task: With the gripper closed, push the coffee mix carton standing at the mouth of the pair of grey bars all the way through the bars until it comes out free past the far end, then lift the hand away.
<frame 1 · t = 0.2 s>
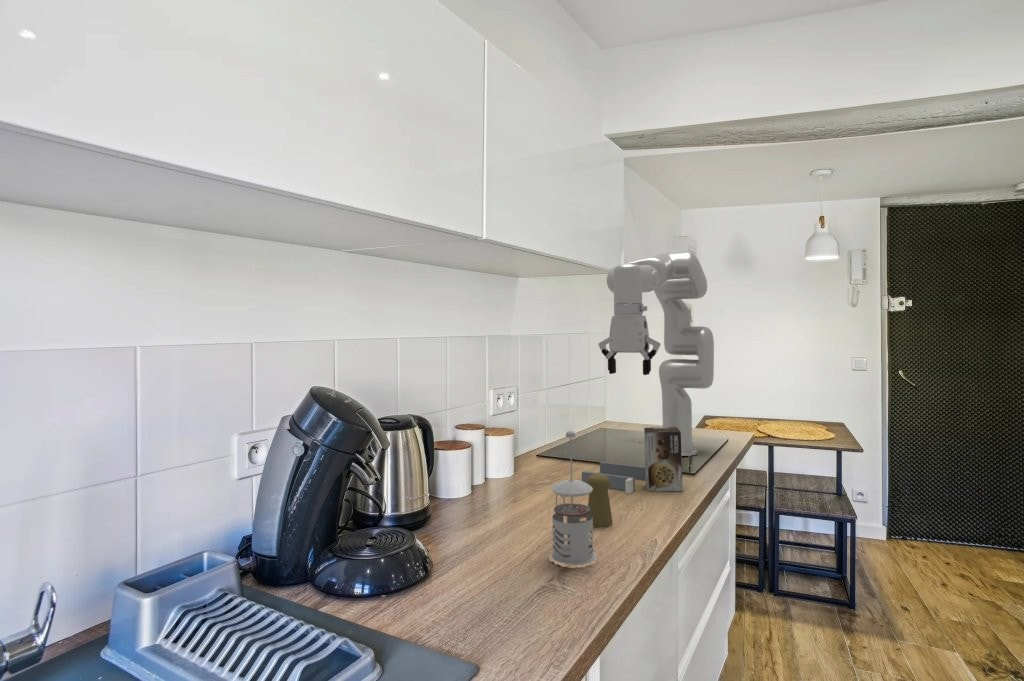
hand: (629, 374, 163), 31 cm above the worktop, tool pointing down, fingers open, 9 cm apart
coffee box: (663, 489, 163), on the worktop
french press: (571, 557, 118), on the worktop
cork: (599, 523, 137), on the worktop
pair of grey bars: (616, 482, 170), on the worktop
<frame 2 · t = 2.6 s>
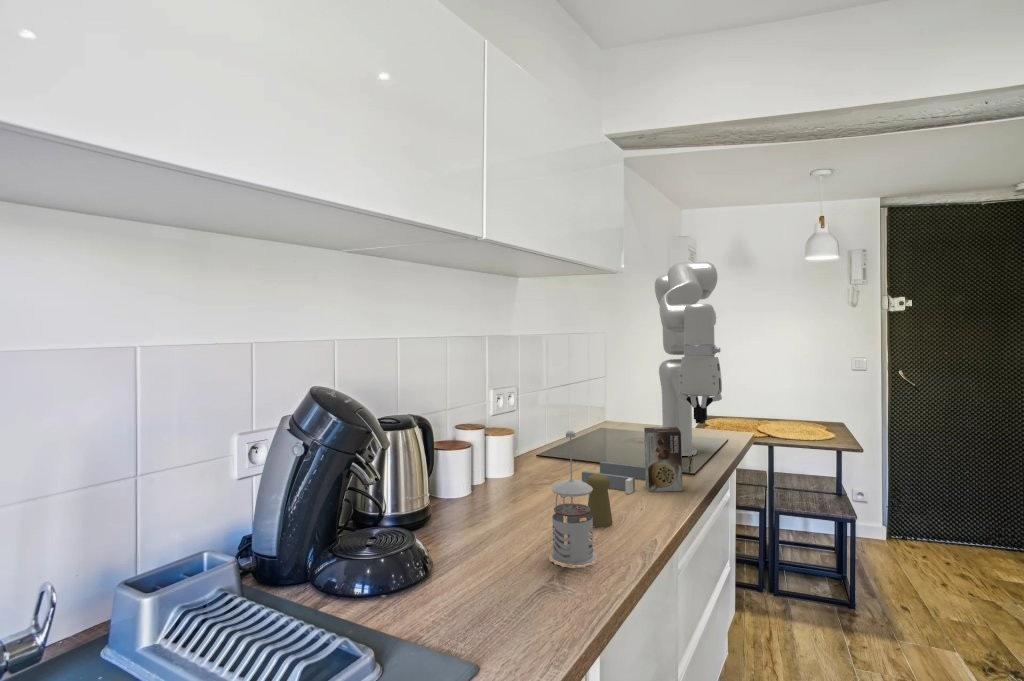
hand: (700, 422, 156), 19 cm above the worktop, tool pointing down, fingers closed
nothing on the worktop moved.
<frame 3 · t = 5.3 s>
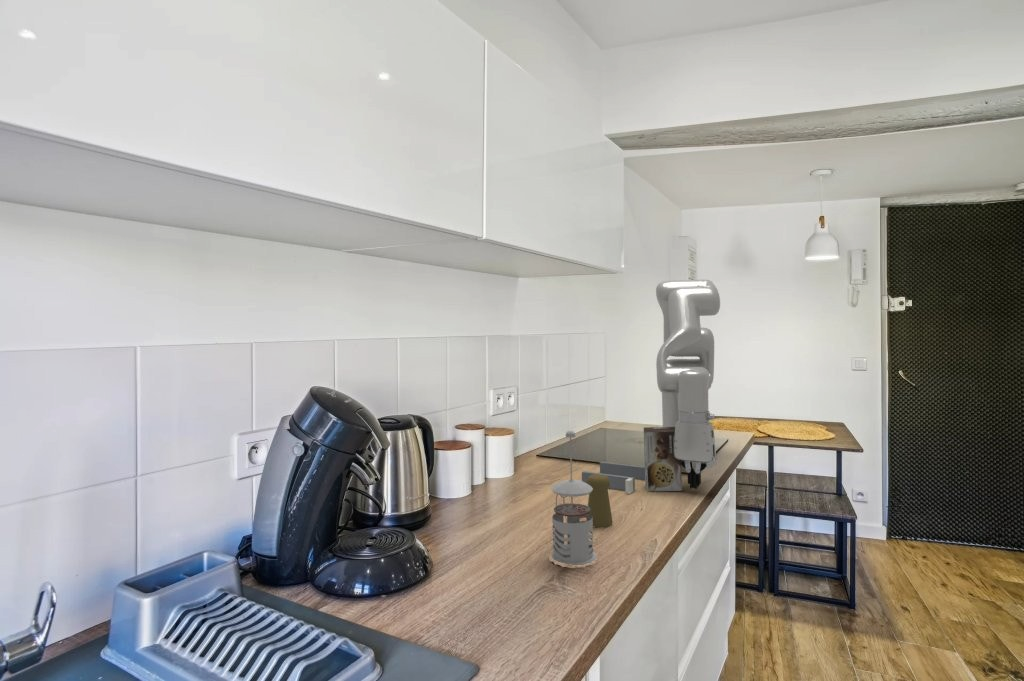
hand: (694, 486, 158), 1 cm above the worktop, tool pointing down, fingers closed
coffee box: (663, 488, 163), on the worktop, touching gripper
everything else where it was.
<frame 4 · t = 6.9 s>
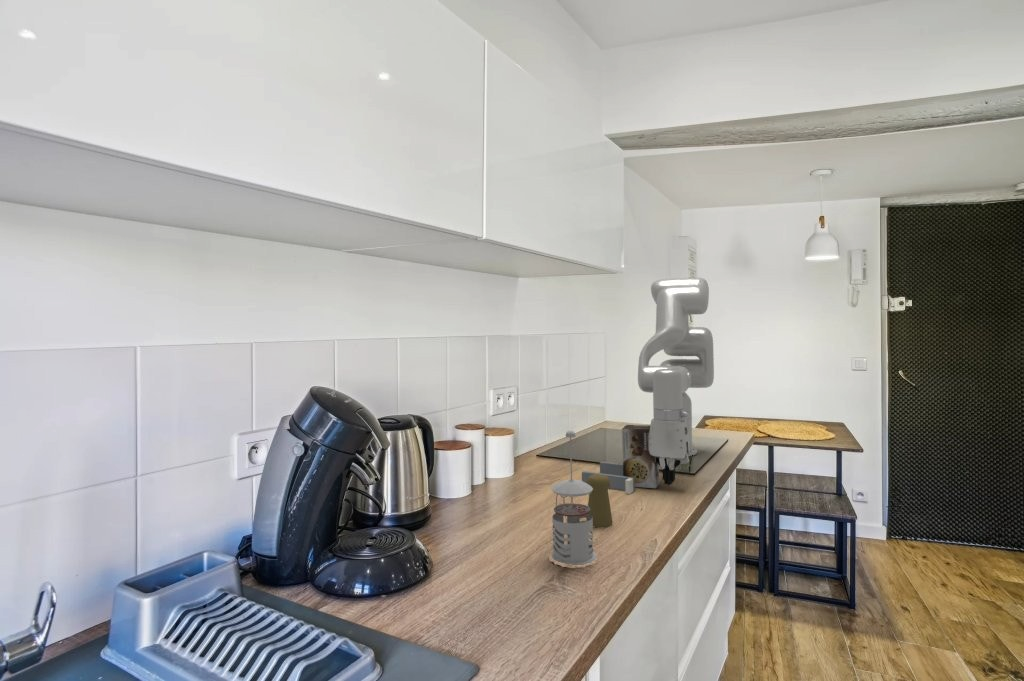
hand: (668, 483, 161), 2 cm above the worktop, tool pointing down, fingers closed
coffee box: (641, 485, 166), on the worktop, touching gripper
everything else where it was.
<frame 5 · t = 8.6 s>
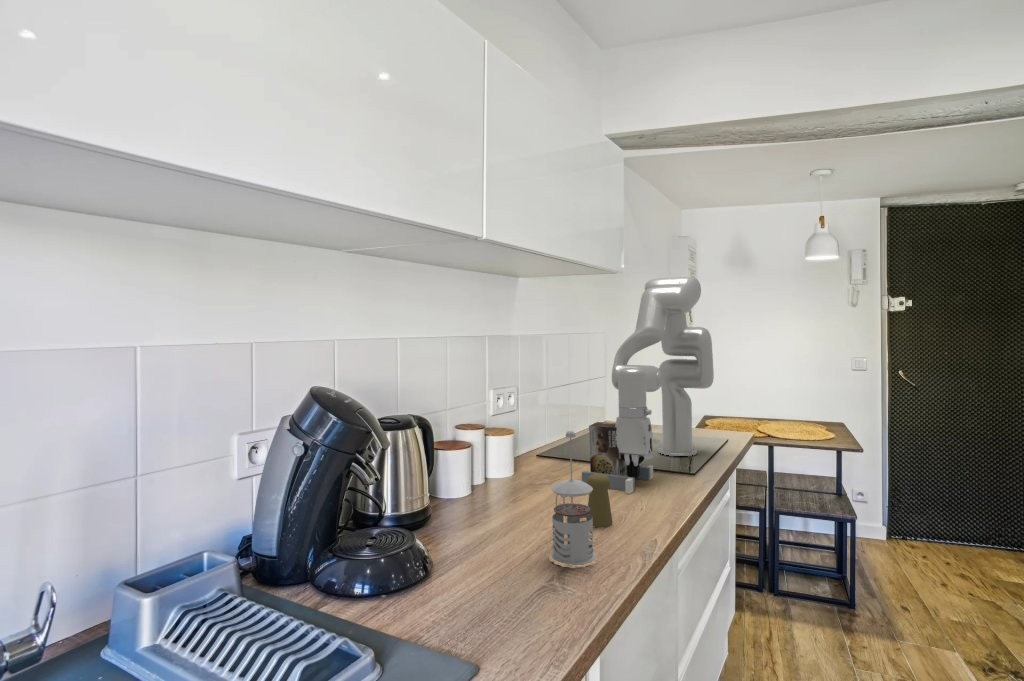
hand: (633, 478, 167), 2 cm above the worktop, tool pointing down, fingers closed
coffee box: (608, 481, 172), on the worktop, touching gripper
everything else where it was.
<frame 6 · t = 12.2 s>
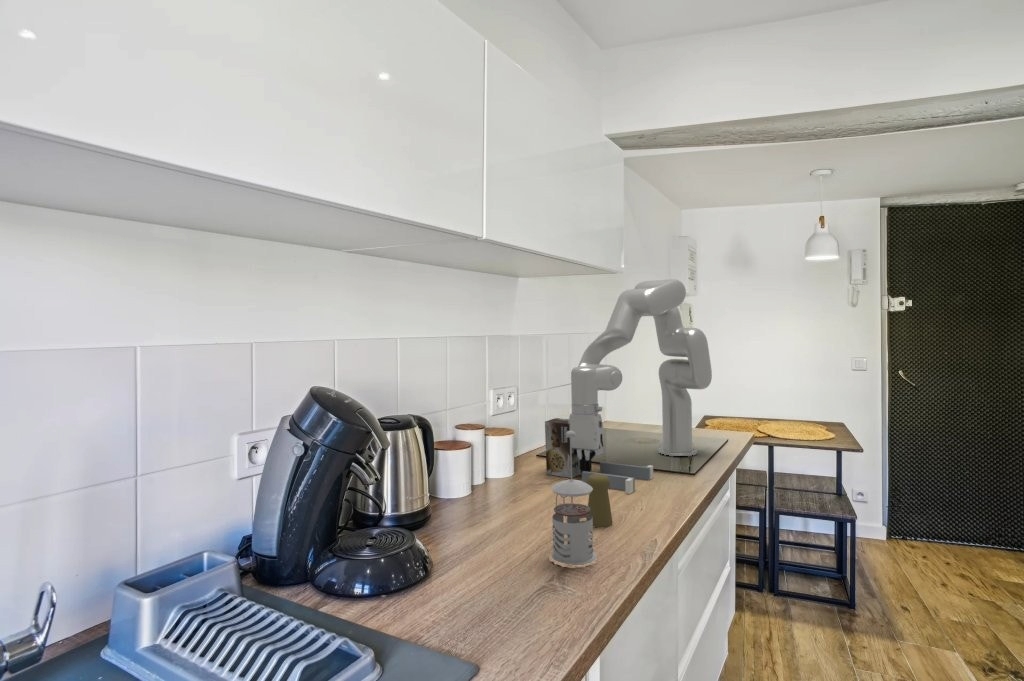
hand: (585, 472, 174), 2 cm above the worktop, tool pointing down, fingers closed
coffee box: (564, 474, 180), on the worktop, touching gripper
everything else where it was.
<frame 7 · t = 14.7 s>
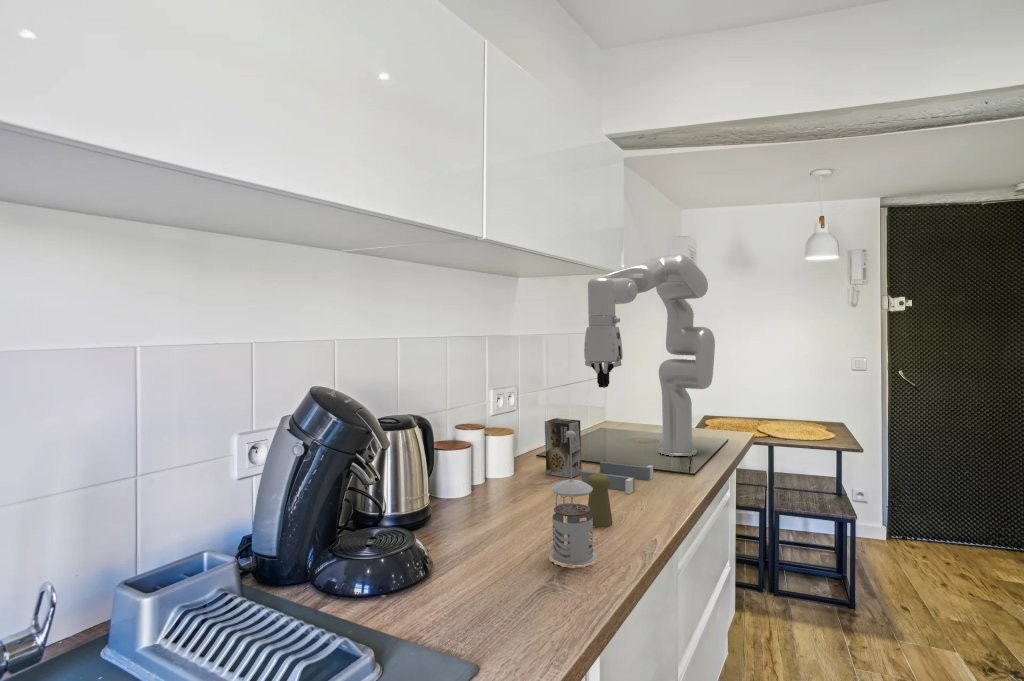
hand: (603, 386, 171), 27 cm above the worktop, tool pointing down, fingers closed
coffee box: (563, 474, 180), on the worktop
everything else where it was.
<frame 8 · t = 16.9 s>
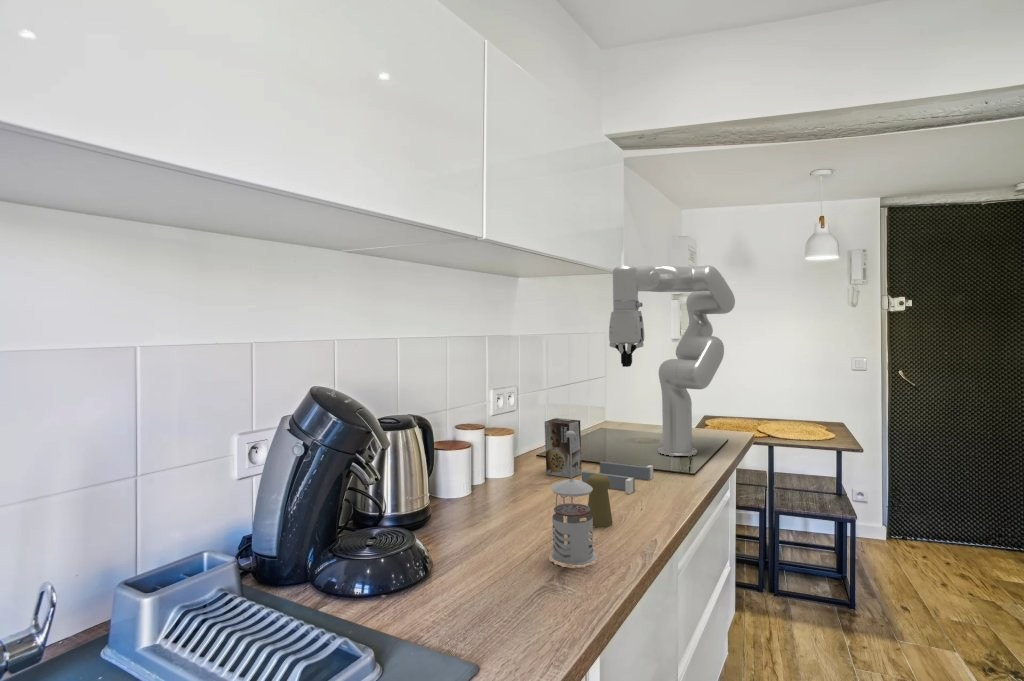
hand: (626, 366, 186), 31 cm above the worktop, tool pointing down, fingers closed
nothing on the worktop moved.
at the end: coffee box inside the target area (3.7 cm from its centre), on the worktop; coffee box tilted 0°; coffee box moved 30.7 cm from its start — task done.
